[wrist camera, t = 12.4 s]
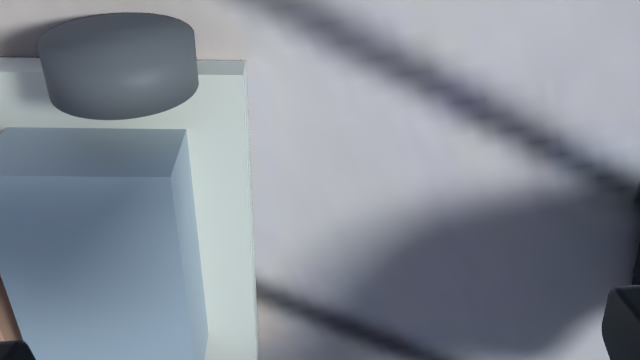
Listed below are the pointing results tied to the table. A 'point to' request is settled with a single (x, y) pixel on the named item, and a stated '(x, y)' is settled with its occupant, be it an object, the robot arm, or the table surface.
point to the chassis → (126, 196)
